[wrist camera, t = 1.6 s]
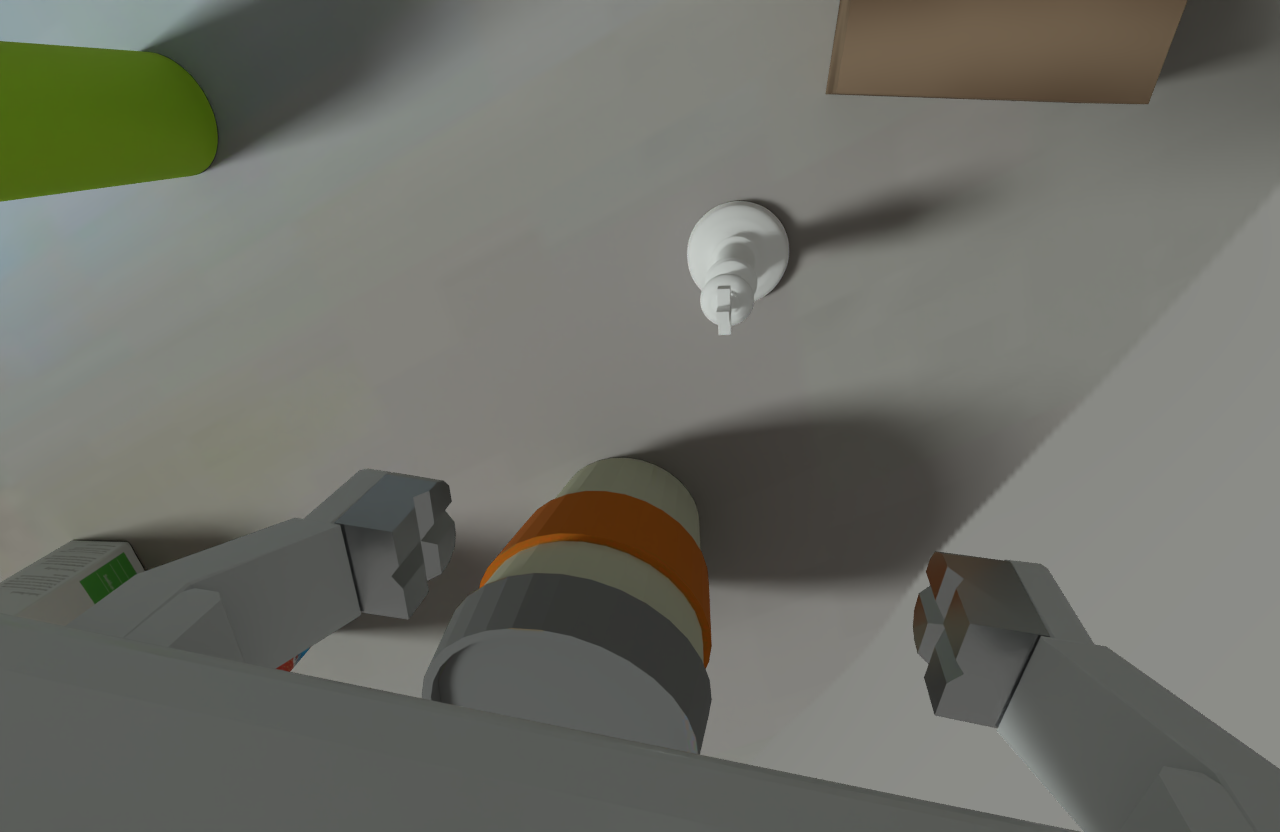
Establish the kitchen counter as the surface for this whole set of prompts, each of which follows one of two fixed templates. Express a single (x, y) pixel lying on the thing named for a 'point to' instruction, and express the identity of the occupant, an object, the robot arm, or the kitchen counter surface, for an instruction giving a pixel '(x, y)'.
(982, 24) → the walnut block
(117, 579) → the skincare box
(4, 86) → the soap dispenser
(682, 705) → the reusable coffee cup
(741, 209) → the chess piece
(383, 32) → the kitchen counter surface
